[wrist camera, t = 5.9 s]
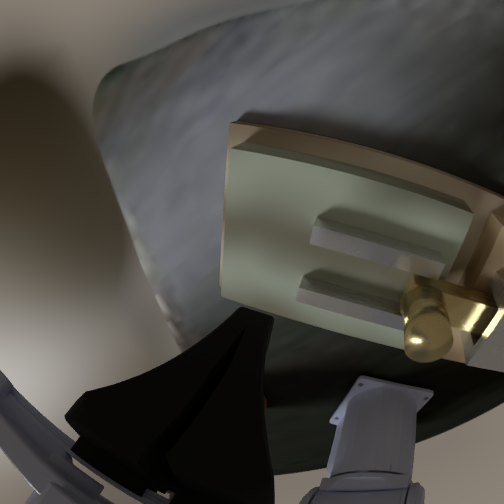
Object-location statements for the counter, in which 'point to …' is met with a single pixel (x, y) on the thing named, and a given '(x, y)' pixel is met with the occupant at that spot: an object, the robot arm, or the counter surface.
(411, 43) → the counter surface
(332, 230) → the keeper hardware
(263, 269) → the door and jamb
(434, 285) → the bolt
